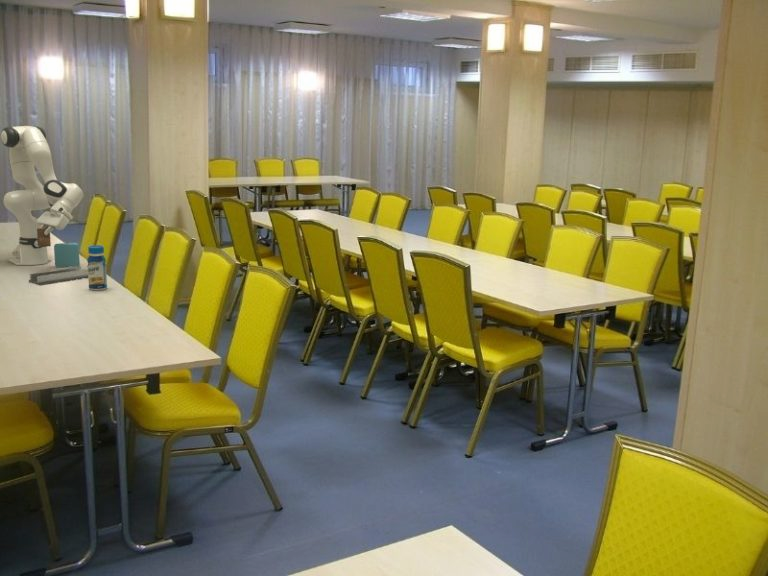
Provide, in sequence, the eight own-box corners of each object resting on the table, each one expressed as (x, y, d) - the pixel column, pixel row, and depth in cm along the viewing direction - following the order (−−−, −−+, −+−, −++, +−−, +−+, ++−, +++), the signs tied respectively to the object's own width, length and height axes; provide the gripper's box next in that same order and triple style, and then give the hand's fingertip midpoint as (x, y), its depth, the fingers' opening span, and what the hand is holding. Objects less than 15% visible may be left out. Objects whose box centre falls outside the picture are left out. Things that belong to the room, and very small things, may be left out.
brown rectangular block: (38, 246, 407) (36, 228, 405) (47, 245, 411) (46, 227, 409) (41, 247, 405) (39, 229, 403) (50, 246, 409) (49, 228, 407)
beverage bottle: (111, 288, 388) (109, 246, 384) (97, 291, 381) (95, 248, 376) (98, 286, 392) (96, 244, 388) (84, 289, 385) (82, 246, 380)
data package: (79, 265, 440) (78, 242, 438) (79, 266, 436) (78, 244, 434) (55, 266, 436) (53, 243, 433) (55, 267, 431) (54, 245, 429)
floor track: (28, 281, 397) (28, 273, 396) (78, 274, 417) (78, 266, 416) (40, 285, 390) (39, 277, 389) (90, 277, 410) (90, 269, 409)
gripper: (44, 205, 416) (27, 227, 411) (66, 210, 403) (48, 231, 398) (53, 214, 420) (36, 235, 415) (75, 218, 408) (57, 240, 402)
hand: (42, 233), depth 406 cm, fingers closed on brown rectangular block, 3 cm apart
